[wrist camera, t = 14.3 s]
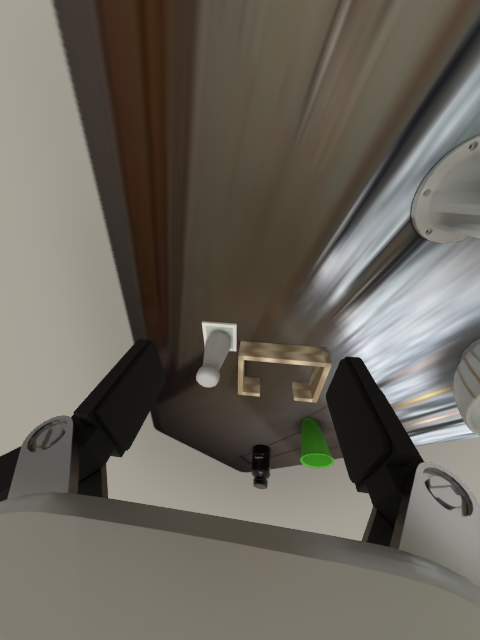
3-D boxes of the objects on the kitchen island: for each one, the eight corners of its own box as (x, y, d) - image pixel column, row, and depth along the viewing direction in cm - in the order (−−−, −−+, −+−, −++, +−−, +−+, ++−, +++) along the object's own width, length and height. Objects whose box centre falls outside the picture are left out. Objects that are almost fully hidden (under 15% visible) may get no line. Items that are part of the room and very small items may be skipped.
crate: (325, 347, 44) (332, 363, 40) (312, 386, 52) (316, 402, 47) (240, 340, 46) (238, 355, 41) (240, 378, 53) (238, 394, 49)
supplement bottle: (260, 442, 73) (259, 481, 63) (273, 448, 74) (274, 488, 64) (249, 447, 76) (246, 485, 66) (262, 453, 78) (262, 491, 68)
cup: (327, 426, 62) (338, 466, 52) (301, 431, 65) (306, 469, 56) (319, 412, 58) (328, 452, 49) (290, 417, 61) (295, 456, 52)
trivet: (236, 323, 43) (236, 325, 42) (236, 349, 47) (236, 351, 47) (202, 321, 44) (201, 322, 43) (205, 347, 48) (205, 348, 48)
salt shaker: (219, 350, 47) (205, 395, 36) (203, 335, 45) (184, 378, 34) (237, 340, 45) (228, 386, 34) (221, 323, 43) (206, 367, 32)
